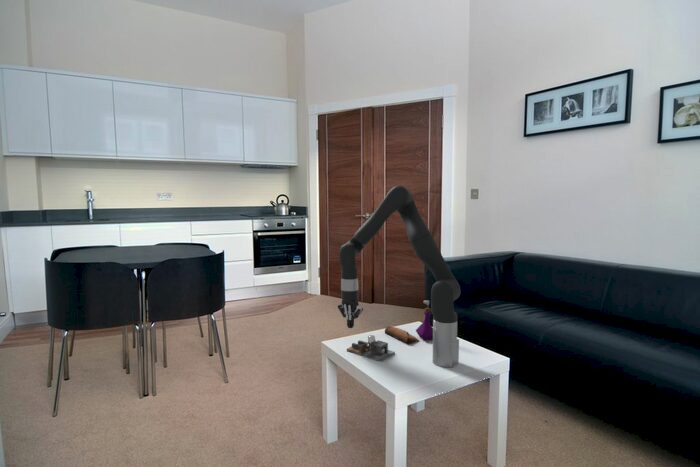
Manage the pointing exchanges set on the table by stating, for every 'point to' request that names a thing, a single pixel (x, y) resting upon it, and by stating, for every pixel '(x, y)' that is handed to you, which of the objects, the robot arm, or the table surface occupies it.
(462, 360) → the table surface
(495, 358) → the table surface
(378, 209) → the robot arm
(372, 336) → the steel bolt
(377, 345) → the plate
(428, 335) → the perfume bottle
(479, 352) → the table surface
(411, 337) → the sunglasses case
